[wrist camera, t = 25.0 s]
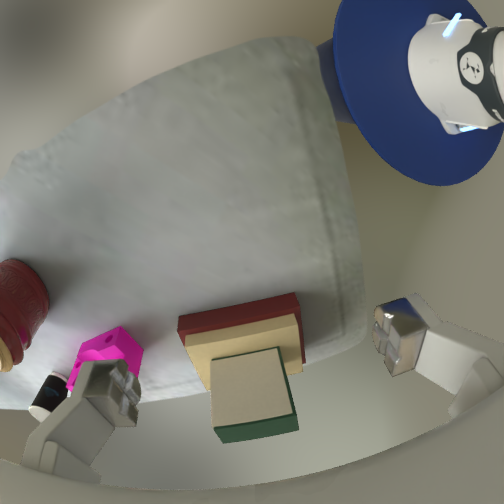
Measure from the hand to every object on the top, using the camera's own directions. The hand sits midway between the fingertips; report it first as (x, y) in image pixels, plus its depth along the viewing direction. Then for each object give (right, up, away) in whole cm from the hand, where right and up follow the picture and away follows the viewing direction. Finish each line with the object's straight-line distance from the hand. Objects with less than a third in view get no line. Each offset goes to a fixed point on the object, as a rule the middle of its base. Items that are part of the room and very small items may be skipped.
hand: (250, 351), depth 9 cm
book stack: (-1, -11, +38) cm, 40 cm away
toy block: (-27, -15, +38) cm, 48 cm away
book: (-1, -13, +33) cm, 36 cm away
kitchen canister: (-40, -3, +30) cm, 50 cm away
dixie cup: (-42, -25, +41) cm, 64 cm away
